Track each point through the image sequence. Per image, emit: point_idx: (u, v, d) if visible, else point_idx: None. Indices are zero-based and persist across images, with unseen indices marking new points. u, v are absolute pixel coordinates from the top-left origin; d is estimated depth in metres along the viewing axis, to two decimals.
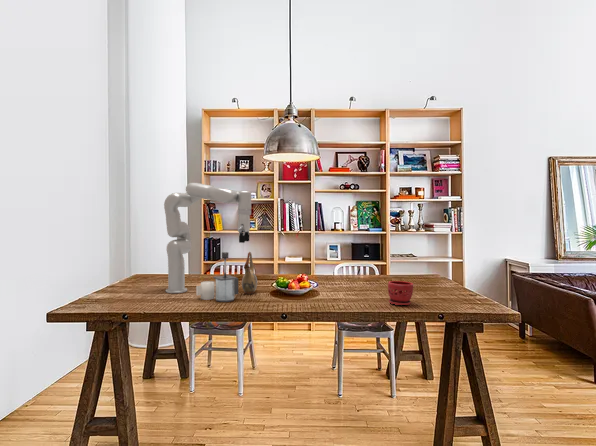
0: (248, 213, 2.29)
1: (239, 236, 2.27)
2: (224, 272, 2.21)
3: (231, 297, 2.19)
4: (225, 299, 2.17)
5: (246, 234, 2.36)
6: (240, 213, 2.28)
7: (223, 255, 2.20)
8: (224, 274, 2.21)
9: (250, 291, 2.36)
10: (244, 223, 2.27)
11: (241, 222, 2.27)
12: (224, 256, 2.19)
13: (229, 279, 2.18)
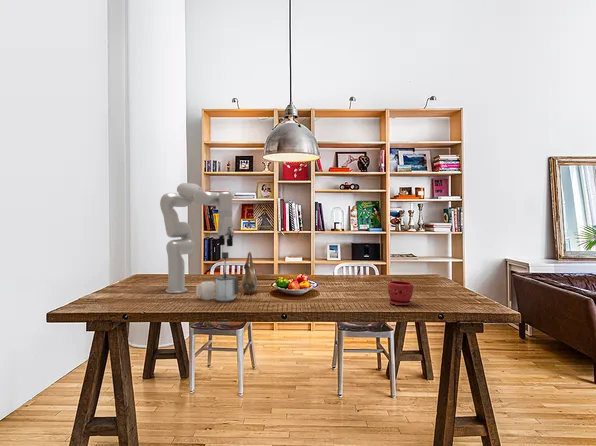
0: None
1: (227, 239, 2.16)
2: (224, 272, 2.21)
3: (231, 297, 2.19)
4: (225, 299, 2.17)
5: (222, 237, 2.24)
6: (225, 215, 2.17)
7: (223, 255, 2.20)
8: (224, 274, 2.21)
9: (250, 291, 2.36)
10: (231, 226, 2.17)
11: (229, 225, 2.16)
12: (224, 256, 2.19)
13: (229, 279, 2.18)
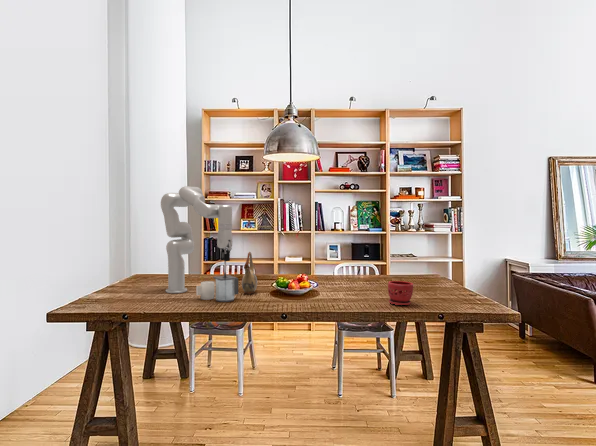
0: (231, 228, 2.21)
1: (224, 254, 2.18)
2: (224, 272, 2.21)
3: (231, 297, 2.19)
4: (225, 299, 2.17)
5: (223, 251, 2.23)
6: (225, 228, 2.17)
7: (223, 255, 2.20)
8: (224, 274, 2.21)
9: (250, 291, 2.36)
10: (231, 239, 2.18)
11: (228, 238, 2.17)
12: None
13: (229, 279, 2.18)
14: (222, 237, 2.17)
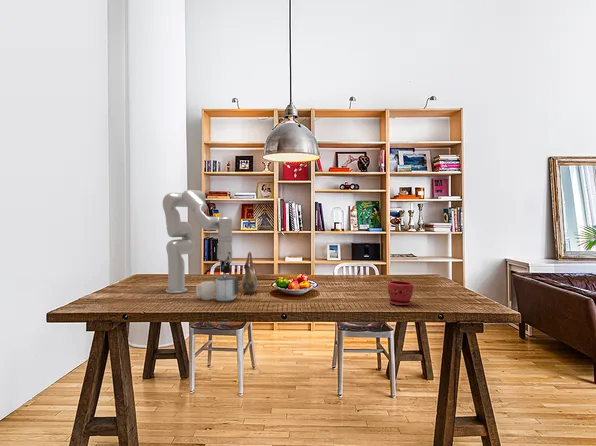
0: (231, 240, 2.21)
1: (224, 267, 2.19)
2: None
3: (231, 297, 2.19)
4: (225, 299, 2.17)
5: None
6: (225, 241, 2.17)
7: (223, 267, 2.20)
8: None
9: (250, 291, 2.36)
10: (231, 251, 2.18)
11: (228, 250, 2.17)
12: None
13: (229, 279, 2.18)
14: (222, 249, 2.17)
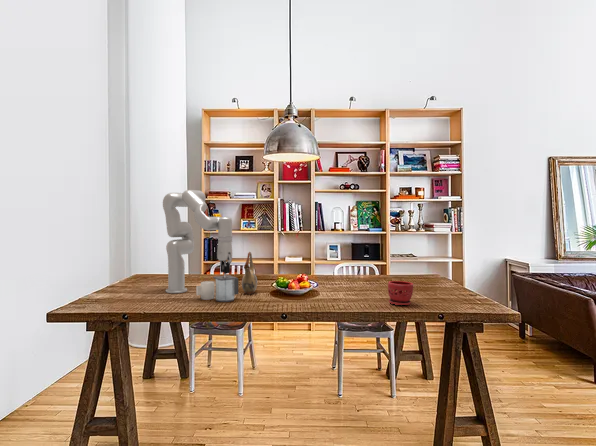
0: (231, 240, 2.21)
1: (224, 267, 2.19)
2: None
3: (231, 297, 2.19)
4: (225, 299, 2.17)
5: None
6: (225, 241, 2.17)
7: (223, 267, 2.20)
8: None
9: (250, 291, 2.36)
10: (231, 251, 2.18)
11: (228, 250, 2.17)
12: None
13: (229, 279, 2.18)
14: (222, 249, 2.17)
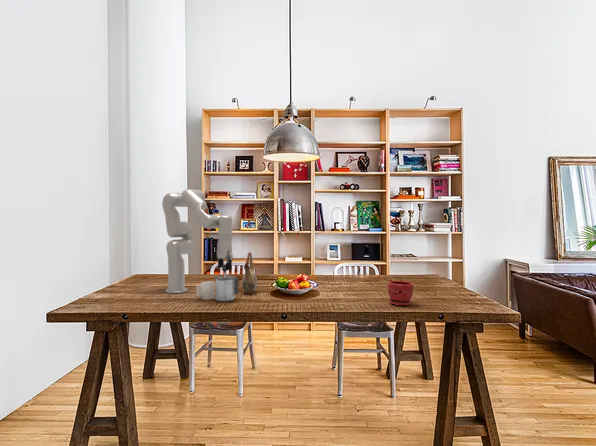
0: (231, 239, 2.21)
1: (226, 263, 2.17)
2: None
3: (231, 297, 2.19)
4: (225, 299, 2.17)
5: (221, 260, 2.25)
6: (225, 239, 2.17)
7: (223, 267, 2.20)
8: None
9: (250, 291, 2.36)
10: (231, 249, 2.18)
11: (228, 249, 2.17)
12: (224, 268, 2.20)
13: (229, 279, 2.18)
14: (222, 248, 2.18)
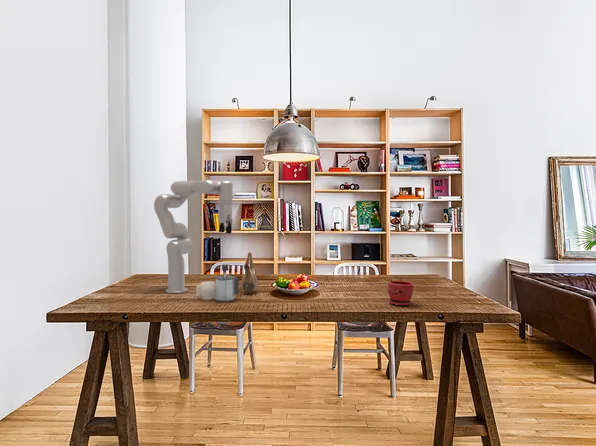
0: None
1: (226, 227, 2.25)
2: None
3: (231, 297, 2.19)
4: (225, 299, 2.17)
5: (222, 225, 2.34)
6: (225, 204, 2.26)
7: (223, 267, 2.20)
8: None
9: (250, 291, 2.36)
10: (231, 214, 2.26)
11: (228, 213, 2.25)
12: (224, 268, 2.20)
13: (229, 279, 2.18)
14: (222, 212, 2.26)
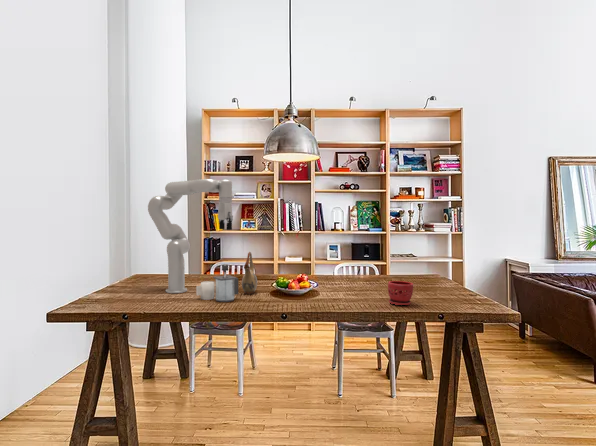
0: (231, 201, 2.38)
1: (227, 224, 2.33)
2: None
3: (231, 297, 2.19)
4: (225, 299, 2.17)
5: (222, 222, 2.42)
6: (225, 201, 2.34)
7: (223, 267, 2.20)
8: None
9: (250, 291, 2.36)
10: (231, 211, 2.35)
11: (228, 210, 2.34)
12: (224, 268, 2.20)
13: (229, 279, 2.18)
14: (223, 209, 2.34)
